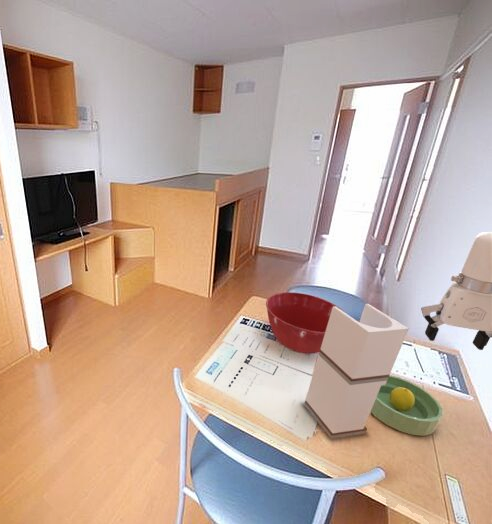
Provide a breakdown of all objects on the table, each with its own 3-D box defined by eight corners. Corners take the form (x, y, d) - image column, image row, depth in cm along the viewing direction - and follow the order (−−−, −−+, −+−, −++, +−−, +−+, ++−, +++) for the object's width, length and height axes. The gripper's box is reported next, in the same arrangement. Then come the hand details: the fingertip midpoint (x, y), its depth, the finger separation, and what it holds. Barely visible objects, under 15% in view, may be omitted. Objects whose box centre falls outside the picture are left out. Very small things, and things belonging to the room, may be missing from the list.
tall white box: (364, 433, 85) (408, 328, 71) (330, 438, 83) (369, 332, 70) (334, 400, 95) (368, 303, 81) (304, 404, 93) (332, 306, 80)
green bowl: (420, 398, 96) (427, 384, 94) (446, 446, 81) (455, 430, 79) (355, 381, 103) (360, 367, 100) (368, 423, 88) (374, 408, 85)
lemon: (381, 401, 94) (389, 381, 91) (399, 402, 94) (408, 382, 91) (394, 416, 89) (404, 396, 86) (414, 417, 89) (424, 396, 86)
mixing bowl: (348, 375, 105) (360, 338, 99) (260, 357, 113) (267, 322, 108) (329, 330, 130) (339, 298, 124) (259, 318, 138) (265, 287, 132)
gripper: (440, 284, 73) (417, 342, 80) (541, 297, 67) (506, 359, 73) (428, 272, 80) (407, 327, 86) (518, 283, 73) (488, 342, 80)
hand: (452, 342), depth 80 cm, fingers open, 9 cm apart
